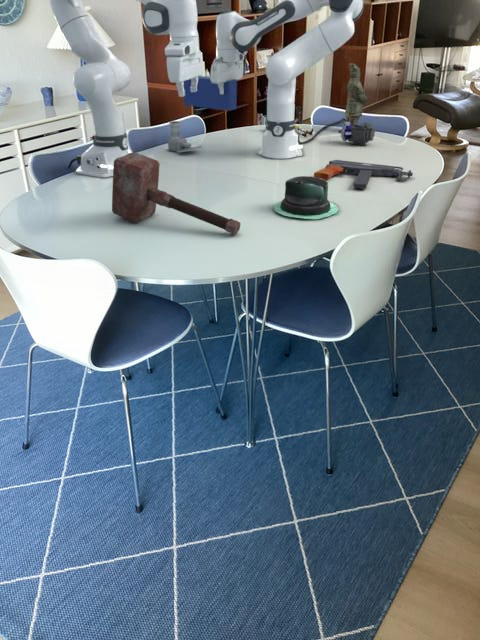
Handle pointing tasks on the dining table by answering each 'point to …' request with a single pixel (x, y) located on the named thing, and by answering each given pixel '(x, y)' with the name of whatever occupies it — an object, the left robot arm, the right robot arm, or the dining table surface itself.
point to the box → (211, 94)
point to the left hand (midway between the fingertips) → (188, 94)
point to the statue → (354, 96)
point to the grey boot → (178, 140)
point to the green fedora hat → (306, 199)
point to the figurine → (302, 131)
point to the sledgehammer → (152, 194)
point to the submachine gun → (360, 171)
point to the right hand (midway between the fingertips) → (227, 92)
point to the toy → (357, 133)
